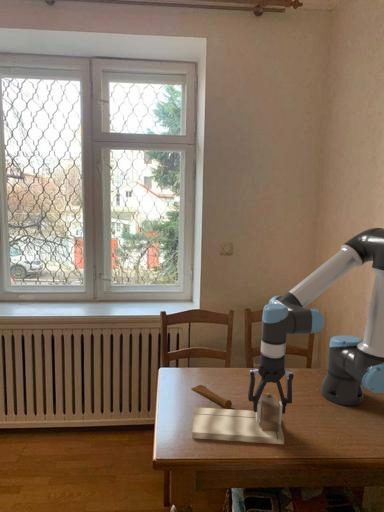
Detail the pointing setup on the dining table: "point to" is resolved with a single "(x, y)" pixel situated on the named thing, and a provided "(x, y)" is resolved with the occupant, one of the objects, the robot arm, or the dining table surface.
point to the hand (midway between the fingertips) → (268, 421)
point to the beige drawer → (269, 412)
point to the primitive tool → (212, 396)
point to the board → (232, 426)
